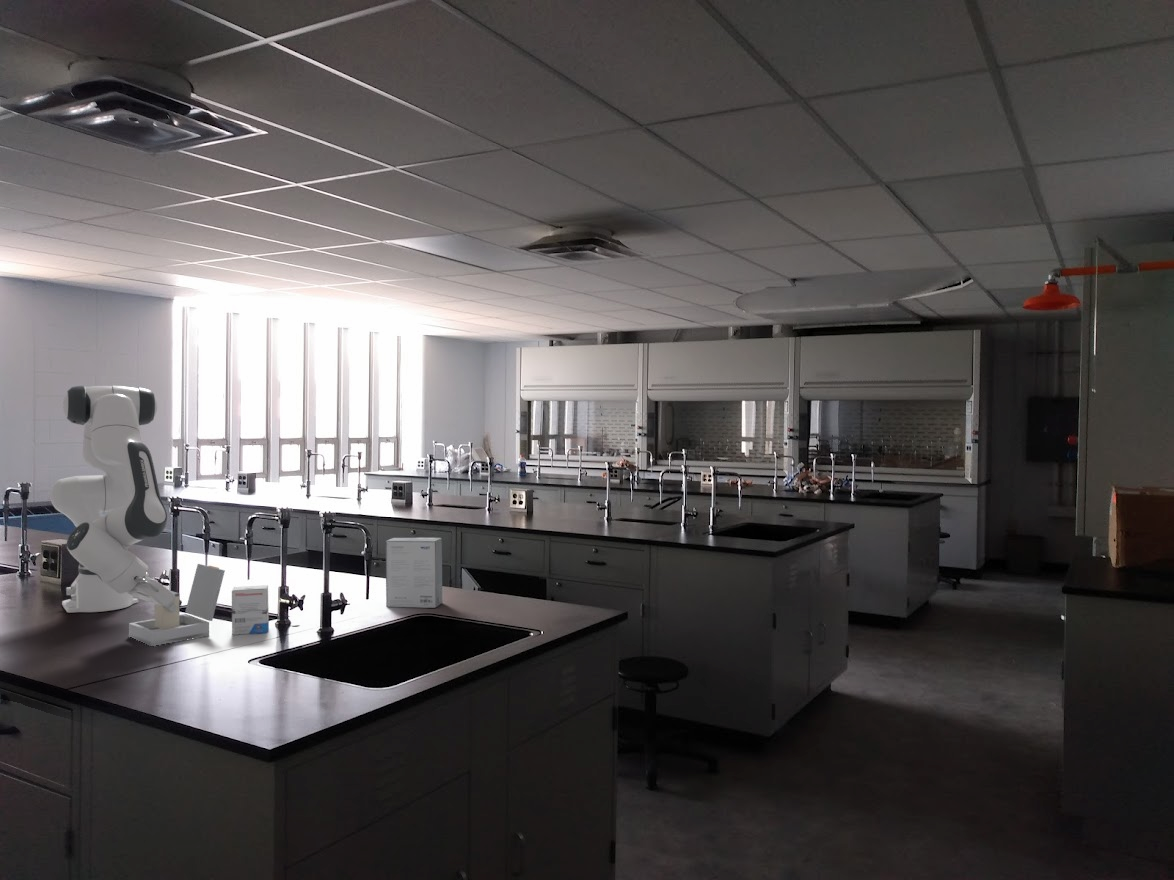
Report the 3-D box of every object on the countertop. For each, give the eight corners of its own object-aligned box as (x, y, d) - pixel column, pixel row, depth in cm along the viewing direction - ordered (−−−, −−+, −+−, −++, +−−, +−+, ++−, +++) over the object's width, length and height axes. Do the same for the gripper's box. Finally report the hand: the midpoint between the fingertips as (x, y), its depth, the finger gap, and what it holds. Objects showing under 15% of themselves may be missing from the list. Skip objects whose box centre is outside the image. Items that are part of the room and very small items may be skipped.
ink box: (269, 628, 218) (269, 584, 218) (267, 633, 213) (267, 588, 213) (234, 630, 216) (234, 586, 215) (231, 635, 211) (231, 590, 211)
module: (154, 626, 209) (154, 593, 209) (171, 623, 212) (170, 590, 212) (163, 629, 206) (162, 595, 206) (179, 626, 209) (179, 593, 209)
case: (128, 637, 209) (128, 623, 209) (185, 626, 219) (185, 613, 219) (151, 647, 200) (151, 632, 199) (209, 635, 210) (209, 622, 210)
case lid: (197, 563, 222) (203, 563, 223) (185, 612, 219) (191, 612, 220) (222, 569, 212) (227, 570, 214) (209, 620, 210) (215, 621, 211)
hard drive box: (443, 603, 250) (443, 537, 249) (436, 608, 242) (436, 541, 242) (393, 601, 251) (393, 536, 251) (384, 607, 244) (384, 540, 243)
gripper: (154, 569, 197) (196, 603, 204) (121, 560, 210) (162, 592, 218) (135, 591, 193) (178, 625, 201) (102, 580, 207) (144, 612, 214)
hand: (169, 608), depth 209 cm, fingers closed on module, 5 cm apart
